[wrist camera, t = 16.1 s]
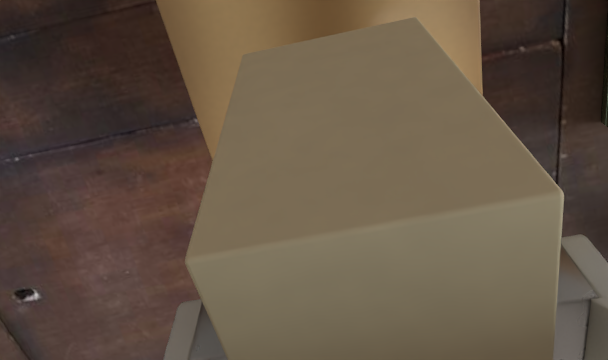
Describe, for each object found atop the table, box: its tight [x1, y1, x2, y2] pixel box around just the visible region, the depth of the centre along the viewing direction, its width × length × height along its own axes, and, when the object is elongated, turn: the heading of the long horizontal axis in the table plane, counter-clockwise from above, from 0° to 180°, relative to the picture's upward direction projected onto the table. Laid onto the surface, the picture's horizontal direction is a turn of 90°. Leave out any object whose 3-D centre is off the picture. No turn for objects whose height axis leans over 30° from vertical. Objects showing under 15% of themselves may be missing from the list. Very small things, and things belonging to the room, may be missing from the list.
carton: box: [185, 17, 564, 360], centre depth 12 cm, size 5×7×9 cm
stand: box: [156, 0, 483, 161], centre depth 29 cm, size 12×12×20 cm
